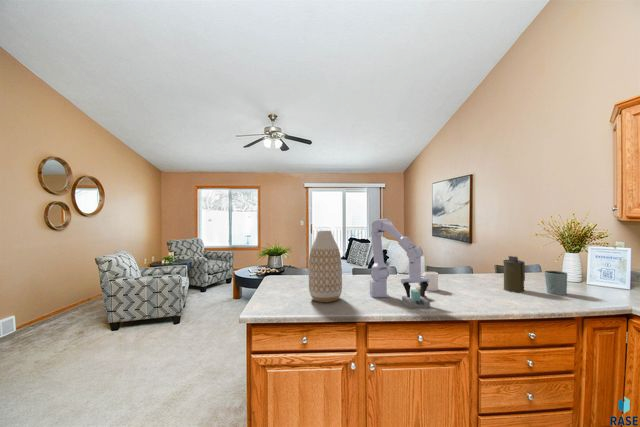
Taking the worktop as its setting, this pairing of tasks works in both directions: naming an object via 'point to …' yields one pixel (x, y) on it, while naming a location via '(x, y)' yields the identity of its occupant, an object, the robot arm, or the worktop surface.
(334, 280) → the vase
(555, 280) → the grey pot
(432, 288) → the cup
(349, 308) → the worktop surface
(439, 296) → the worktop surface
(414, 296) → the tab
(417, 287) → the bobbin
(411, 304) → the board
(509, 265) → the canister
